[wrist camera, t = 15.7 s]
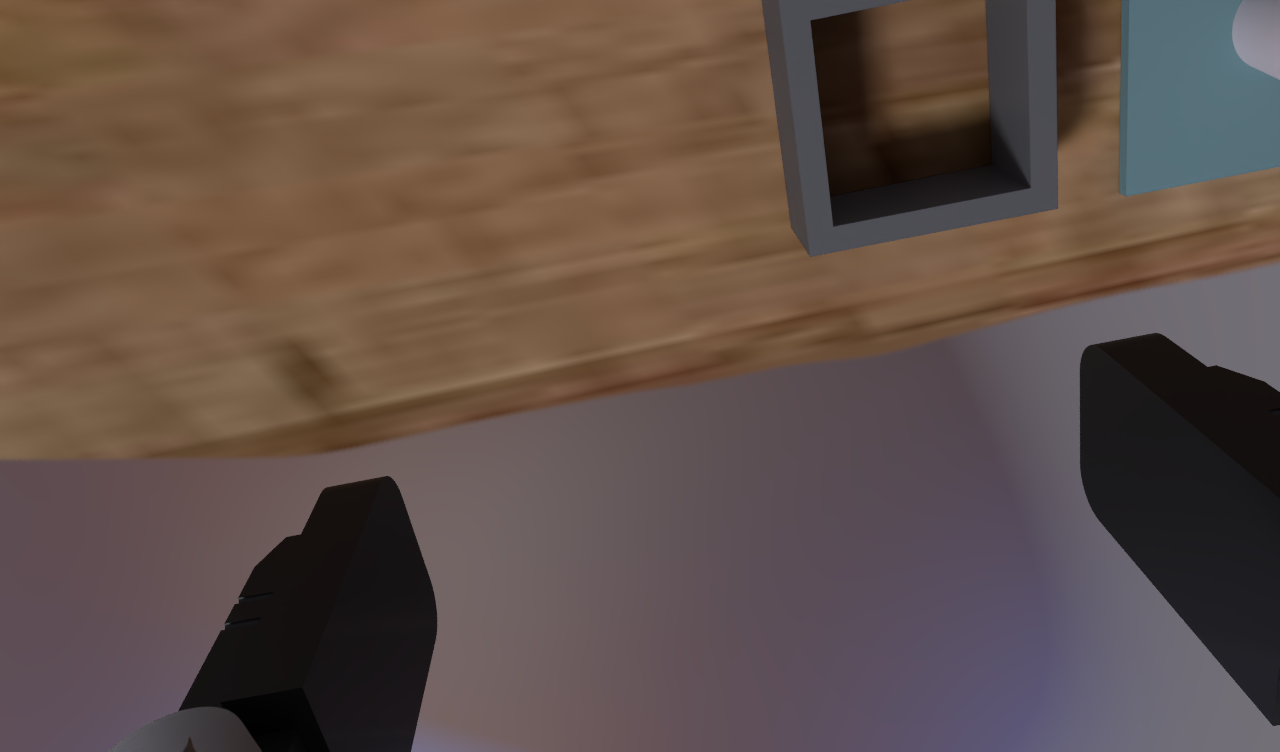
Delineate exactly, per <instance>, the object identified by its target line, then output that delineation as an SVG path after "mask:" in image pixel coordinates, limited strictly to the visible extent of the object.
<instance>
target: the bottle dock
mask: <svg viewBox="0 0 1280 752" xmlns="http://www.w3.org/2000/svg"><path fill="white" fill-rule="evenodd" d="M903 1H908V0H762V6H763V14H764V21H765V29H766V37H767V44H768V52H769V60H770V68H771V75H772V83H773V91H774V99H775V106H776V114H777V122H778V129H779V137H780V145H781V153H782V160H783V168H784V176H785V183H786V191H787V199H788V207H789V214H790V222H791V228H792V230H793V231H794V233H795V234H796V236H797V237H798V239H799V240H800V242H801V244H802V245H803V247H804V248H805V250H806V251H807V253H808V254H809V256H810V257H811V256H817V255H822V254H827V253H832V252H837V251H842V250H847V249H853V248H858V247H863V246H868V245H873V244H878V243H884V242H889V241H894V240H899V239H904V238H909V237H914V236H920V235H925V234H930V233H935V232H940V231H945V230H951V229H956V228H961V227H966V226H971V225H976V224H981V223H987V222H992V221H997V220H1002V219H1007V218H1012V217H1018V216H1023V215H1028V214H1033V213H1038V212H1043V211H1048V210H1054V209H1058V161H1057V79H1056V0H986V23H987V48H988V73H989V98H990V123H991V148H992V165H988V166H983V167H978V168H973V169H968V170H963V171H958V172H952V173H947V174H942V175H937V176H932V177H927V178H922V179H917V180H912V181H907V182H902V183H896V184H891V185H886V186H881V187H876V188H871V189H866V190H861V191H856V192H851V193H845V194H840V195H835V196H830V193H829V184H828V175H827V166H826V157H825V148H824V139H823V130H822V121H821V112H820V103H819V94H818V85H817V76H816V67H815V58H814V49H813V40H812V31H811V22H810V20H815V19H820V18H825V17H830V16H835V15H840V14H845V13H849V12H854V11H859V10H864V9H869V8H874V7H879V6H884V5H889V4H894V3H899V2H903Z"/></svg>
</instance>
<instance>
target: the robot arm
mask: <svg viewBox="0 0 1280 752" xmlns="http://www.w3.org/2000/svg"><path fill="white" fill-rule="evenodd" d="M1080 469H1081V477H1082V482H1083V486H1084V490H1085V493H1086V496H1087V499H1088V502H1089V504H1090V506H1091V508H1092V510H1093V512H1094V514H1095V515H1096V517H1097V518H1098V520H1099V521H1100V522H1101V523H1102V524H1103V526H1104V527H1105V528H1106V529H1107V531H1108V532H1109V533H1110V534H1111V535H1112V536H1113V538H1114V539H1115V540H1116V541H1117V542H1118V544H1120V546H1121V547H1122V548H1123V549H1124V551H1125V552H1126V553H1127V554H1128V555H1129V556H1130V558H1131V559H1132V560H1133V561H1134V562H1135V564H1136V565H1137V566H1138V567H1139V568H1140V569H1141V571H1142V572H1143V573H1144V574H1145V575H1146V576H1147V578H1148V579H1149V580H1150V581H1151V582H1152V584H1153V585H1154V586H1155V587H1156V588H1157V590H1159V592H1160V593H1161V594H1162V595H1163V597H1164V598H1165V599H1166V600H1167V601H1168V602H1169V604H1170V605H1171V606H1172V607H1173V608H1174V610H1175V611H1176V612H1177V613H1178V614H1179V616H1180V617H1181V618H1182V619H1183V620H1184V621H1185V623H1186V624H1187V625H1188V626H1189V627H1190V628H1191V630H1192V631H1193V632H1194V633H1195V634H1196V636H1197V637H1198V638H1199V639H1200V640H1201V641H1202V643H1203V644H1204V645H1205V646H1206V647H1207V649H1208V650H1209V651H1210V652H1211V653H1212V654H1213V656H1214V657H1215V658H1216V659H1217V660H1218V662H1219V663H1220V664H1221V665H1222V666H1223V667H1224V669H1225V670H1226V671H1227V672H1228V673H1229V675H1230V676H1231V677H1232V678H1233V679H1234V680H1235V682H1236V683H1237V684H1238V685H1239V686H1240V688H1241V689H1242V690H1243V691H1244V692H1245V693H1246V695H1247V696H1248V697H1249V698H1250V699H1251V700H1252V702H1253V703H1254V704H1255V705H1256V706H1257V708H1258V709H1259V710H1260V711H1261V712H1262V713H1263V715H1264V716H1265V717H1266V718H1267V719H1268V721H1269V722H1270V723H1271V724H1272V725H1273V726H1276V725H1280V392H1279V391H1277V390H1276V389H1274V388H1273V387H1271V386H1270V385H1268V384H1267V383H1265V382H1264V381H1261V380H1258V379H1255V378H1252V377H1249V376H1246V375H1243V374H1240V373H1237V372H1234V371H1231V370H1228V369H1225V368H1222V367H1219V366H1217V365H1216V366H1211V367H1207V366H1205V365H1204V364H1203V363H1201V362H1200V361H1199V360H1197V359H1196V358H1194V357H1193V356H1192V355H1190V354H1189V353H1187V352H1186V351H1185V350H1183V349H1182V348H1180V347H1179V346H1178V345H1176V344H1175V343H1173V342H1172V341H1171V340H1169V339H1168V338H1167V337H1165V336H1163V335H1162V334H1159V333H1153V334H1147V335H1142V336H1137V337H1131V338H1126V339H1121V340H1115V341H1110V342H1105V343H1100V344H1094V345H1090V346H1088V347H1087V348H1086V349H1085V350H1084V352H1083V354H1082V358H1081V363H1080ZM238 599H239V604H235V605H234V607H233V609H232V611H231V613H230V614H229V616H228V618H227V620H226V622H225V630H222V631H220V633H219V635H218V637H217V639H216V641H215V643H214V645H213V647H212V648H211V651H210V652H209V654H208V656H207V658H206V660H205V662H204V664H203V665H202V667H201V669H200V671H199V673H198V675H197V677H196V679H195V681H194V682H193V684H192V686H191V688H190V690H189V692H188V694H187V696H186V698H185V700H184V701H183V703H182V705H181V707H180V709H179V711H178V712H175V713H172V714H169V715H166V716H164V717H162V718H159V719H157V720H154V721H153V722H151V723H149V724H147V725H145V726H143V727H141V728H139V729H138V730H136V731H135V732H133V733H131V734H130V735H128V736H127V737H125V738H124V739H123V740H121V741H120V742H119V743H117V744H116V745H115V746H113V747H112V748H111V749H110V750H109V751H108V752H411V748H412V744H413V739H414V735H415V730H416V726H417V721H418V717H419V712H420V708H421V703H422V699H423V694H424V690H425V685H426V681H427V676H428V672H429V667H430V663H431V658H432V654H433V650H434V644H435V640H436V635H437V609H436V601H435V596H434V591H433V587H432V584H431V580H430V577H429V574H428V571H427V569H426V566H425V563H424V560H423V557H422V554H421V551H420V548H419V545H418V542H417V539H416V536H415V533H414V530H413V527H412V524H411V522H410V519H409V516H408V513H407V510H406V507H405V504H404V501H403V498H402V495H401V493H400V490H399V488H398V486H397V484H396V483H395V481H394V480H393V479H392V478H391V477H389V476H385V477H379V478H374V479H369V480H364V481H358V482H353V483H348V484H343V485H337V486H332V487H327V488H325V489H324V490H323V491H322V493H321V494H320V496H319V498H318V501H317V503H316V504H315V507H314V509H313V511H312V513H311V515H310V517H309V519H308V521H307V523H306V525H305V527H304V529H303V532H302V534H301V535H296V536H290V537H286V538H285V539H284V540H283V541H282V542H281V543H280V544H279V545H277V546H276V547H275V548H274V549H273V550H272V551H271V552H270V553H269V554H268V555H267V556H266V557H265V558H264V559H263V560H262V561H260V562H259V563H258V565H256V566H255V567H254V569H253V571H252V573H251V575H250V577H249V579H248V580H247V582H246V585H245V586H244V588H243V590H242V592H241V594H240V596H239V597H238Z"/></svg>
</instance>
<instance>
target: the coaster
mask: <svg viewBox="0 0 1280 752" xmlns="http://www.w3.org/2000/svg"><path fill="white" fill-rule="evenodd" d="M1241 2H1242V0H1122V24H1121V94H1120V165H1119V193H1120V194H1122V195H1124V196H1130V195H1136V194H1141V193H1146V192H1151V191H1156V190H1161V189H1167V188H1172V187H1177V186H1182V185H1187V184H1192V183H1198V182H1203V181H1208V180H1213V179H1218V178H1223V177H1228V176H1234V175H1239V174H1244V173H1249V172H1254V171H1259V170H1265V169H1270V168H1275V167H1280V80H1279V79H1277V78H1274V77H1272V76H1270V75H1268V74H1266V73H1264V72H1262V71H1260V70H1258V69H1256V68H1253V67H1251V66H1249V65H1248V64H1246V63H1245V62H1244V61H1243V60H1242V59H1241V58H1240V57H1239V55H1238V54H1237V52H1236V50H1235V48H1234V44H1233V39H1232V27H1233V21H1234V18H1235V14H1236V12H1237V9H1238V7H1239V5H1240V3H1241Z"/></svg>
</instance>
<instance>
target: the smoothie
mask: <svg viewBox="0 0 1280 752" xmlns="http://www.w3.org/2000/svg"><path fill="white" fill-rule="evenodd" d="M1232 39H1233V44H1234V48H1235V50H1236V52H1237V54H1238V55H1239V57H1240V58H1241V59H1242V60H1243V61H1244V62H1245V63H1246V64H1248V65H1249V66H1251V67H1253V68H1256V69H1258V70H1260V71H1262V72H1264V73H1266V74H1268V75H1270V76H1272V77H1274V78H1277V79H1279V80H1280V0H1242V2H1241V3H1240V5H1239V7H1238V9H1237V12H1236V14H1235V18H1234V21H1233V27H1232Z"/></svg>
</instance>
